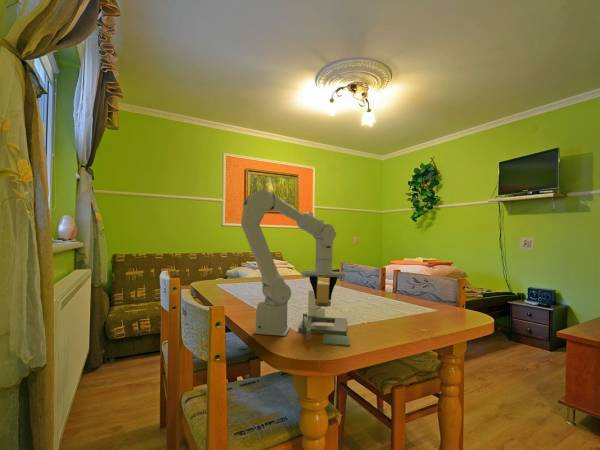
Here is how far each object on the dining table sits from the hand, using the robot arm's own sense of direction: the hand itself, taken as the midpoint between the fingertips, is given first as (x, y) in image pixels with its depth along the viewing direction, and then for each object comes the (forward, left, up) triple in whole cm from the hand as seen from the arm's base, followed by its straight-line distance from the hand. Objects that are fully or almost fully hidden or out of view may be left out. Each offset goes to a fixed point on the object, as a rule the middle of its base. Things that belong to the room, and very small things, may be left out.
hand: (323, 299), depth 99 cm
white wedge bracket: (-3, +9, -9) cm, 13 cm away
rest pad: (+5, -14, -9) cm, 17 cm away
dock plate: (+1, -2, -9) cm, 9 cm away
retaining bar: (-4, -11, -7) cm, 14 cm away
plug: (0, 0, -2) cm, 2 cm away
